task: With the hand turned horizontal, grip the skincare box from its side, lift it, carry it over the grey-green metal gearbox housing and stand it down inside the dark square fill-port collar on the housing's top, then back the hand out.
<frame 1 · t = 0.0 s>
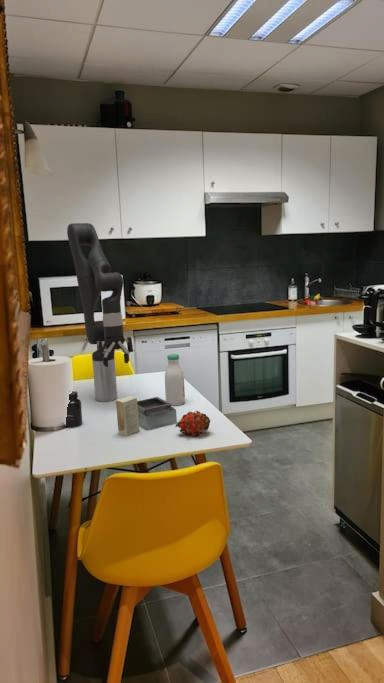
hand: (116, 364, 197), 17 cm above the table, tool pointing down, fingers open, 8 cm apart
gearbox: (151, 420, 183), on the table
skincare box: (128, 433, 172), on the table
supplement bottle: (73, 425, 182), on the table
milk bottle: (175, 403, 202), on the table
dragon fruit: (193, 434, 168), on the table
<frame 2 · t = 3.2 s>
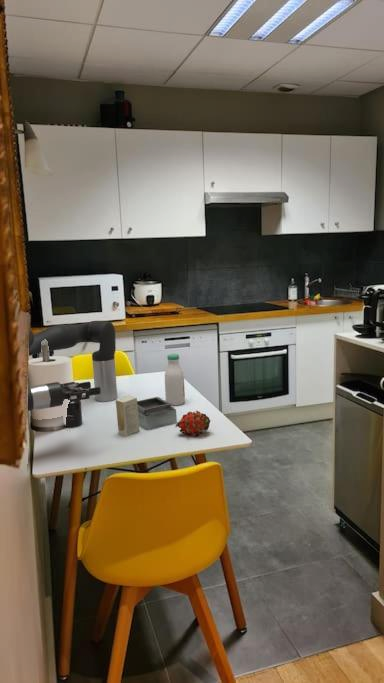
hand: (95, 387, 163), 18 cm above the table, tool horizontal, fingers open, 8 cm apart
nothing on the table moved.
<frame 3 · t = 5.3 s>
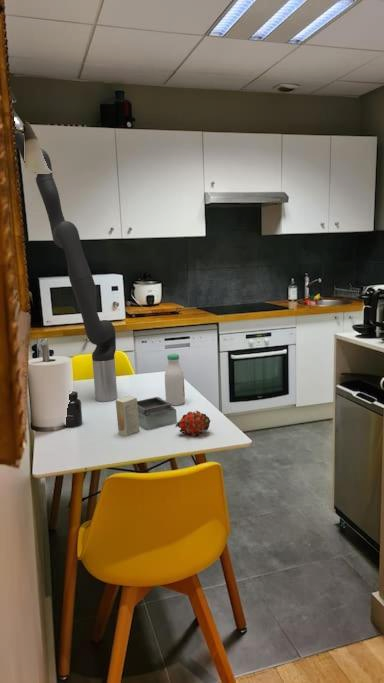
nothing on the table moved.
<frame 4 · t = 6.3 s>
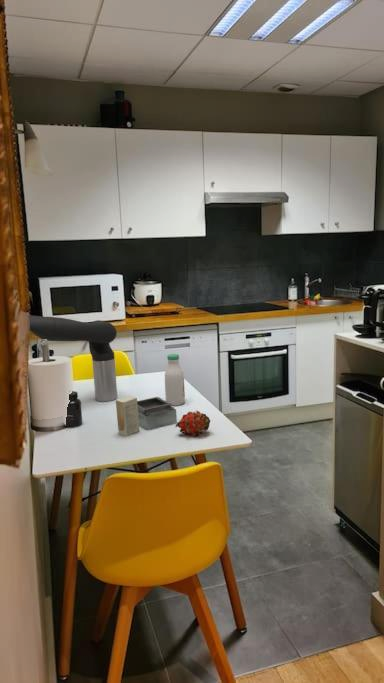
nothing on the table moved.
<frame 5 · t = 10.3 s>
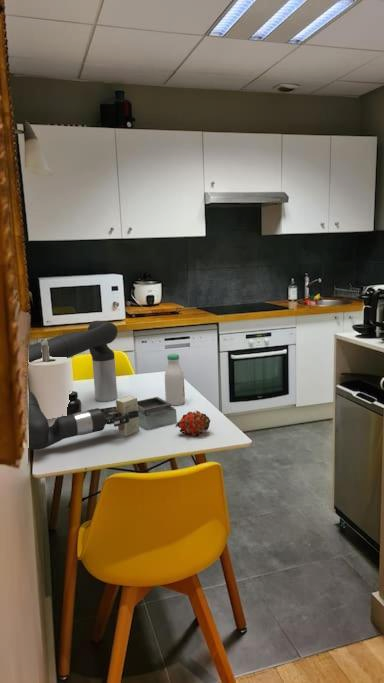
hand: (134, 411, 172), 7 cm above the table, tool horizontal, fingers closed on skincare box, 5 cm apart
skincare box: (128, 432, 172), on the table, touching gripper
everything else where it was.
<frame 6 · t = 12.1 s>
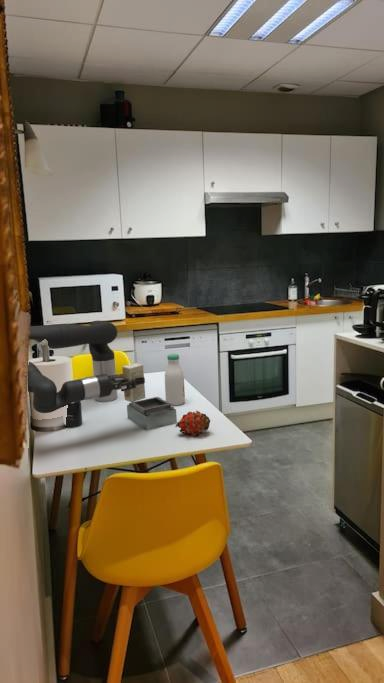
hand: (140, 378, 174), 18 cm above the table, tool horizontal, fingers closed on skincare box, 5 cm apart
skincare box: (134, 399, 174), point 10 cm above the table, touching gripper
everything else where it was.
when the fingers open (13 cm above the table, at t = 14.2 s): skincare box stays where it is, resting on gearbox.
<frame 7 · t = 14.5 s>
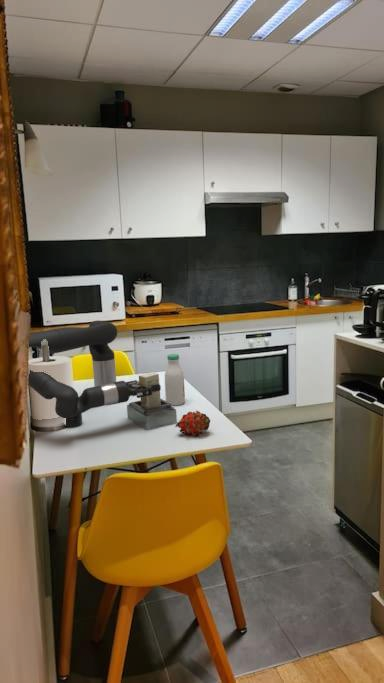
hand: (155, 384, 182), 13 cm above the table, tool horizontal, fingers open, 7 cm apart
skincare box: (150, 407, 182), point 5 cm above the table, touching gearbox
everything else where it was.
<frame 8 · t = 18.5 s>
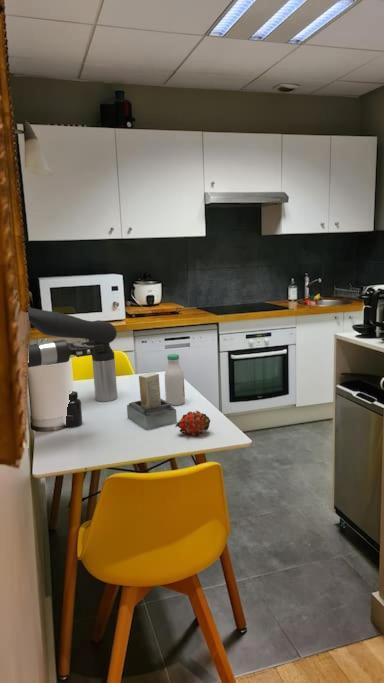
hand: (99, 345, 170), 30 cm above the table, tool horizontal, fingers open, 8 cm apart
nothing on the table moved.
at the end: skincare box inside the target area on the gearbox (0.2 cm from its centre), point 5.0 cm above the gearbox's base; skincare box tilted 0°; the gripper is holding nothing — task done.
